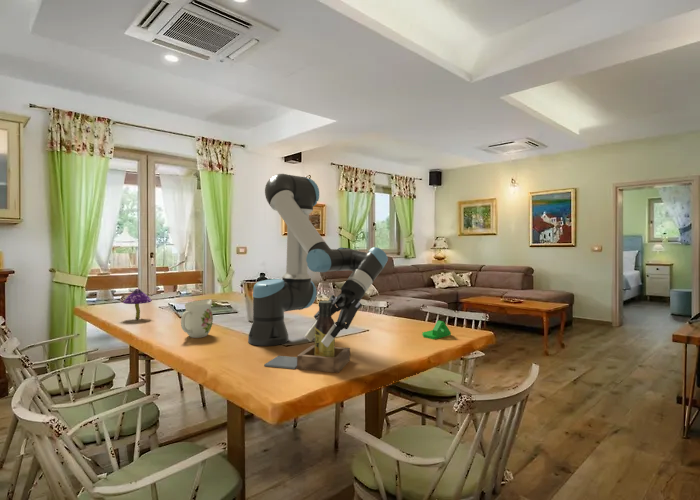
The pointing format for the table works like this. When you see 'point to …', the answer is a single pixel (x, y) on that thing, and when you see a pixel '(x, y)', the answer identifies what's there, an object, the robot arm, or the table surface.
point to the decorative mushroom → (137, 300)
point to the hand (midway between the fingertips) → (315, 341)
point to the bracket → (437, 331)
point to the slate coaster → (283, 362)
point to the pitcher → (197, 318)
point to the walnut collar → (323, 360)
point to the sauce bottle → (324, 330)
